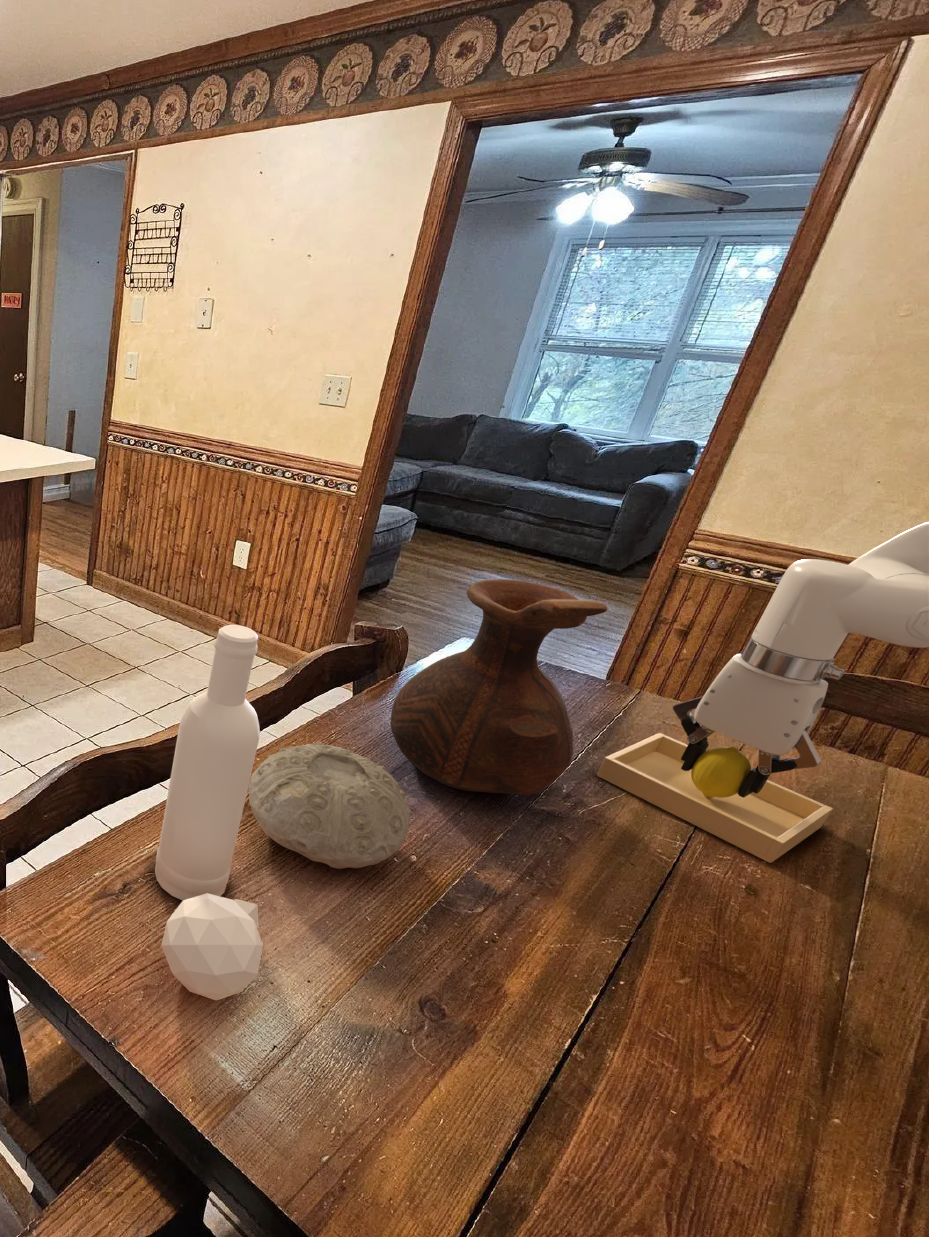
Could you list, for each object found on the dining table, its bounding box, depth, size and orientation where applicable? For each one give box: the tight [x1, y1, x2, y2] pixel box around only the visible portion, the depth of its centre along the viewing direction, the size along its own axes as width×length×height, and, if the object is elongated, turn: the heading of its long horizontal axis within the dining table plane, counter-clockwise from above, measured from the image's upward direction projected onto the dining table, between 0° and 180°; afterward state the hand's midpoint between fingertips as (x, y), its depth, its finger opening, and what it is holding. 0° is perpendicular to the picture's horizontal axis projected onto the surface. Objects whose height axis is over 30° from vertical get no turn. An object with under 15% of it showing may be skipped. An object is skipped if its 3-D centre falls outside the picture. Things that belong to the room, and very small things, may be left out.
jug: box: [390, 578, 608, 795], centre depth 98 cm, size 22×22×30 cm
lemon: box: [691, 746, 752, 798], centre depth 99 cm, size 6×6×8 cm
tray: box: [596, 732, 834, 864], centre depth 100 cm, size 20×16×3 cm
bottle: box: [154, 624, 261, 901], centre depth 76 cm, size 8×8×30 cm
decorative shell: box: [247, 741, 413, 870], centre depth 88 cm, size 18×18×10 cm
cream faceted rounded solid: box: [160, 893, 264, 1001], centre depth 69 cm, size 9×9×12 cm
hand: (716, 779), depth 99 cm, fingers closed on lemon, 5 cm apart
